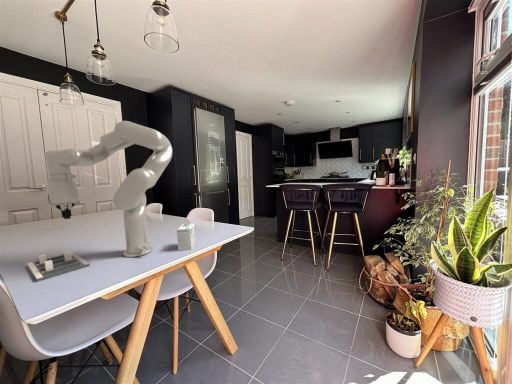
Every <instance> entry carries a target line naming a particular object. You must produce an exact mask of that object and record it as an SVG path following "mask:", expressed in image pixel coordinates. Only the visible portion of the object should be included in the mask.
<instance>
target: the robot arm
mask: <svg viewBox="0 0 512 384" xmlns="http://www.w3.org/2000/svg"><path fill="white" fill-rule="evenodd" d="M113 128H114V129H113V131H110V132H107V133H105V134H103V135H101V136H100V137H99V138H100V139H99V140H100V142H99V143H97V145H95V146H92V147H91V148H88V149H84V150H83V149H78V148H66V149H62V150H61V149H60V150H59V149H51V150H47V151H46V152H45V157H46V165H47V171H48V176H49V182H47V185H46V195H47V202H48V207H49V208H53V209H57V210H60V211H61V212H60V213H61V217H62V218H63V219H64V220H68V219H71V217H72V212H71V209H73V207H74V206H77V205H80V204H81V202H80V195H79V191H78V187H77V184H76V182H75V180H74V179H76V178H77V176H76V174H72V168H71V167H92V166H93V165H96V164H98V163H101V162H103V161H105V160H106V159H108V158H109V157H111V156H112V155H113V154H115V153H118V152H120V151H122V150H124V149H126V148H128V147H130V146H133V145H138V146H142V147H145V148H147V149H150V150H152V151H153V153H152V154H151V155H150V156H149V157H148V159H147V160H146V161H145V163H144V164H143V166H142V167H140V168H136V169H135V168H134V169H133V170H132V171H130V172H129V173H128V175H127V176H126V177H125V179H124V180H123V182H122V183H121V185H120V186H119V187H118V188H117V190H116V192H115V193H114V196H113V197H112V198H113V199H112V200H113V205H114V207H115V208H117V209H118V210H120V211H123V225H124V237H125V245H126V250H124V251H123V253H122V254H123V255H122V256H123V257H127V258H135V257H140V256H144V255H147V254H149V253H152V251H153V249H154V248H153V246H151V245H150V244H149V243H150V242H149V241H150V240H149V231H148V230H149V229H148V220H147V219H148V218H147V217H148V216H147V196H146V191H147V190H148V189H151V188H153V187H154V186H155V185H156V184H157V182H158V180H159V179H160V177H161V176H162V174H163V172H165V169H166V168H167V167H168V165H169V163H170V162H171V160H172V157H173V147H172V144H171V141H170V140H169V138H167V137H166V136H165V134H163V133H162V132H160V131H158V130H156V129H154V128H151V127H148V126H144V125H142V124H138V123H135V122H132V121H128V120H121V121H119V122H117V123H116V125H114V127H113ZM64 204H66V207H65V206H64Z"/></svg>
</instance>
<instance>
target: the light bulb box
mask: <svg viewBox="0 0 512 384" xmlns="http://www.w3.org/2000/svg"><path fill="white" fill-rule="evenodd" d="M176 236H177V237H176V238H177V250H178V251H192V249H193V248H194V247H195V245H196V230H195V223H183V224H181V225H180V226H179V227H178V228H177V229H176Z"/></svg>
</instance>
